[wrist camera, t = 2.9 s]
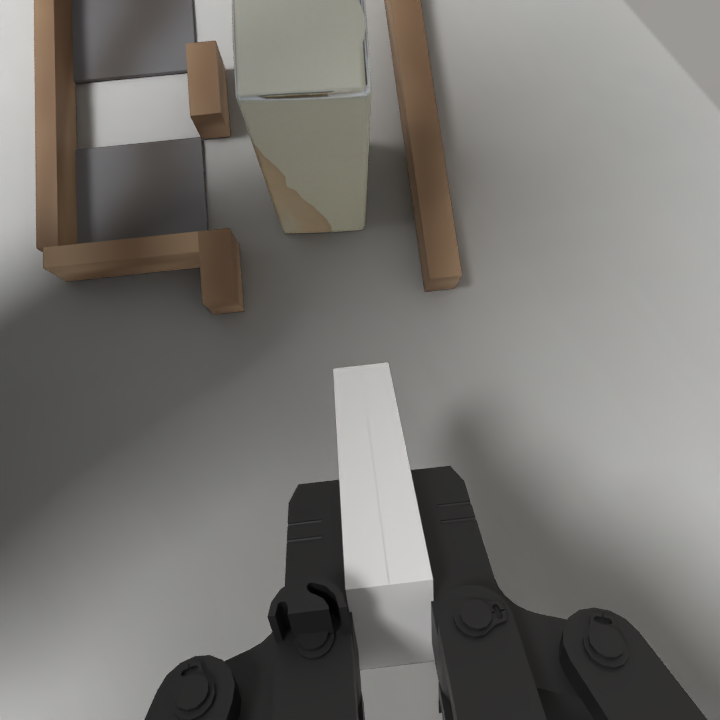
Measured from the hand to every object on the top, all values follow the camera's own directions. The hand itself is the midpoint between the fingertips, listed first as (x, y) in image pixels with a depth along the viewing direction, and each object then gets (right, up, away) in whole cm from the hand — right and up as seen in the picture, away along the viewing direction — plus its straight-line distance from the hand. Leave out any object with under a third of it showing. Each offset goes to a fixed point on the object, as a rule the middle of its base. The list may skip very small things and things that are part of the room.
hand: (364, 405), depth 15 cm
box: (-2, +10, +13) cm, 16 cm away
